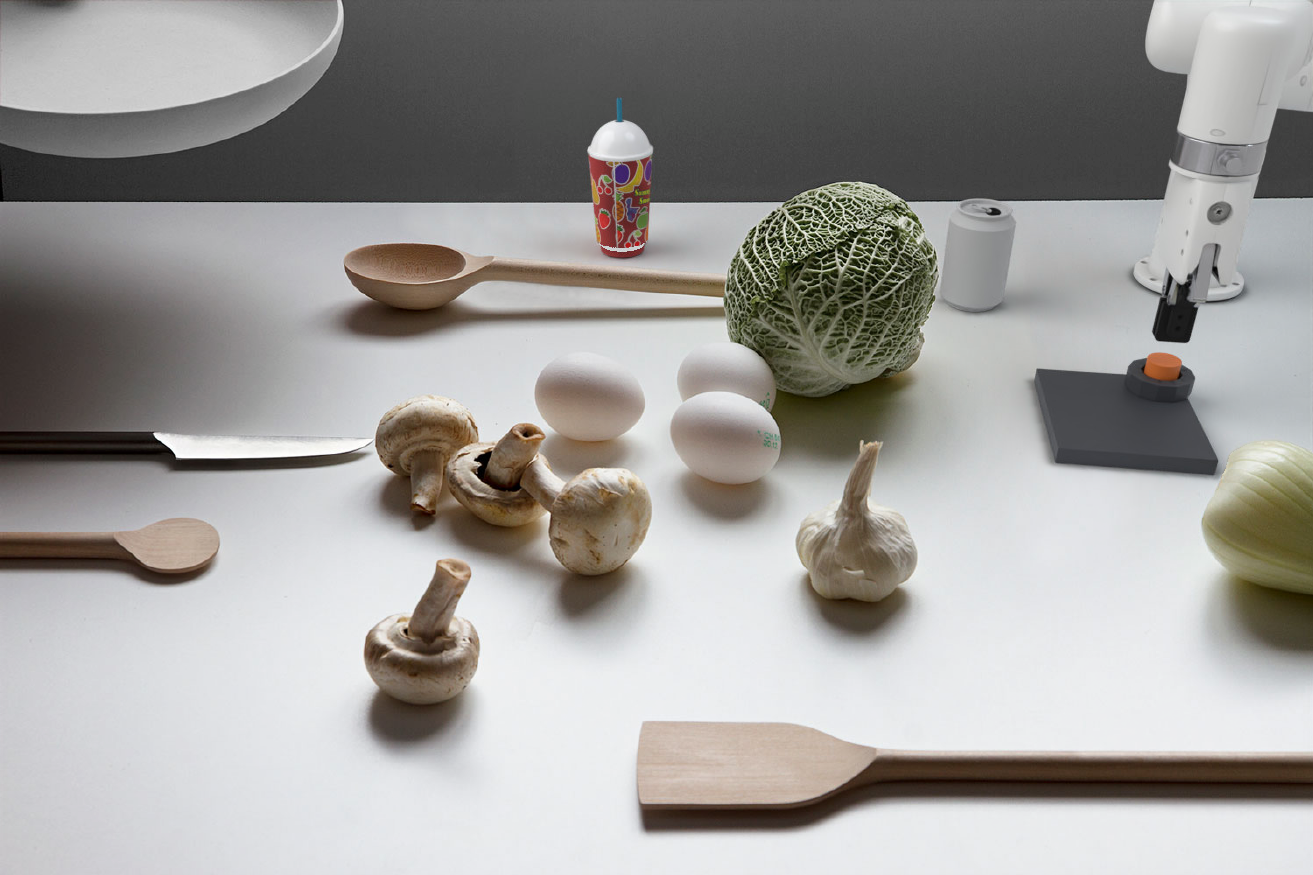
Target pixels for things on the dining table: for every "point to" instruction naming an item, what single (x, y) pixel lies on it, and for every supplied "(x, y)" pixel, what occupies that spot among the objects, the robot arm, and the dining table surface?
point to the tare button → (1163, 366)
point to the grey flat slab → (1124, 420)
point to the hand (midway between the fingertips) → (1170, 338)
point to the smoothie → (621, 185)
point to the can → (977, 254)
